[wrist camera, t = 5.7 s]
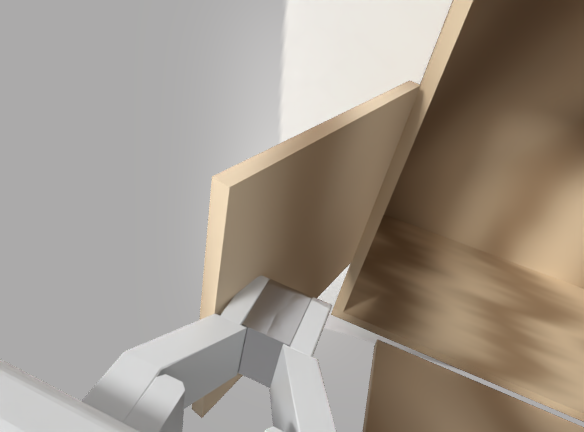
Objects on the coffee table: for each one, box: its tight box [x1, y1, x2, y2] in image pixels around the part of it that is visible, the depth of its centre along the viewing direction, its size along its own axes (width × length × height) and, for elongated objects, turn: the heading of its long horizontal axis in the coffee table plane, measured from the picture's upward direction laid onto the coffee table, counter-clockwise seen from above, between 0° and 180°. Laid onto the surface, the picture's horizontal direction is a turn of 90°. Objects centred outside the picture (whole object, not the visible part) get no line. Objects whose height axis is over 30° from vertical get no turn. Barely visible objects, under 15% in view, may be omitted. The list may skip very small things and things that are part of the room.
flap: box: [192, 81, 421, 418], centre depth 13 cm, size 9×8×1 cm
